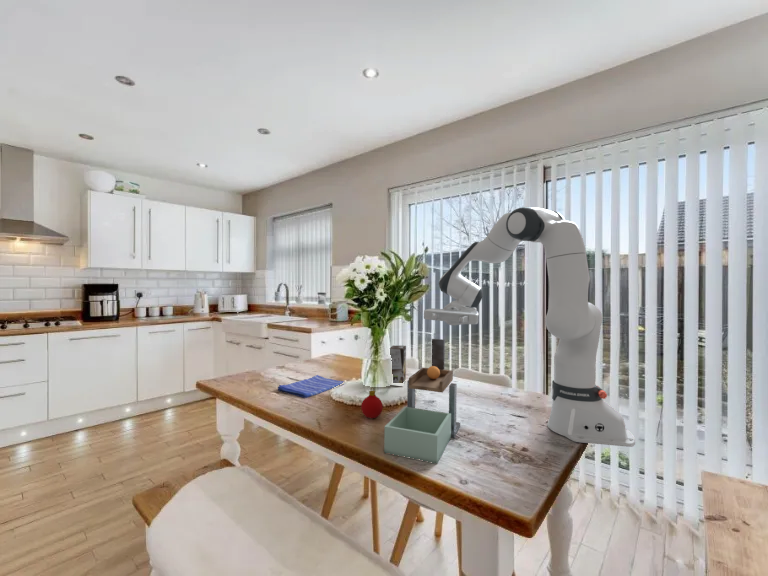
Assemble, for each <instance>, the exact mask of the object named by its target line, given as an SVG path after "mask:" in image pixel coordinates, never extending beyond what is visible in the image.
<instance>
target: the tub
mask: <svg viewBox="0 0 768 576" xmlns="http://www.w3.org/2000/svg"><path fill="white" fill-rule="evenodd" d="M383 435H384V442H383V443H384V445H383V446H384V450H383V451H384V452H385V453H384V454H386V453H390V454H389V455H391V454H394V455H393V456H396V455H399V456H398V457H400V456H405V457H410V458H414V459H413V460H415V459H420V460H423V461H422V462H424V461H428V462H427V463H429V462H432V463H431V464H434V463H437V464H438V463H439V461H440V459H441V457H442V456H443V453H444V452H445V450H446V449H447V446H448V445H449V442H450V440H451V439H452V438H451V413H449V412H443V411H437V410H436V411H435V410H431V409H430V410H429V409H423V408H418V407H415V408H411V407H407V406H404V407H403V408H401V410H400V411H399V412H398V413H397V414H395V416H394V417H393V418H391V420H390V421H388V422H387V423H386V424H385V425H384V434H383ZM405 457H404V458H405ZM410 458H409V459H410Z"/></svg>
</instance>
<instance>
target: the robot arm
mask: <svg viewBox="0 0 768 576" xmlns="http://www.w3.org/2000/svg"><path fill="white" fill-rule="evenodd" d="M520 242H531V243H541V244H542V246H543V247H544V253H545V260H546V268H547V269H546V270H547V275H548V283H549V285H548V286H549V287H548V289H549V290H548V291H549V292H548V304H547V305H548V306H547V308H548V309H547V313H546V315H545V320H544V321H545V322H544V323H545V327H546V329H547V330H548V332H549V333H550V334H551V335H552V336H553V337H555V338H557V339H559V340H558V344H557V347H556V350H555V352H554V356H553V357H554V358H553V362H554V363H553V380H552V383H551V398H552V403H551V404H552V405H551V409H550V415H549V418H548V420H547V421H548V422H547V428H548V429H549V430H551V431H552V432H554V433H556V434H559V435H561V436H563V437H565V438H567V439H569V440H570V441H572V442H575V443H584V444H594V445H595V444H597V445H607V446H617V447H629V448H633V447H635V446H636V437H635V436H634V434H633V433H632V432H631V431H630V430H629V429H628V428H626V424H625V423H626V422H625V420H624V418H623V416H622V414H621V413H620V412H619V410H617V409H615V408H614V407H613V406H612V405H610V404H609V403H608V402H607V401H606V398H608V393H606V391H605V390H603V389H602V388H601V387H600V386H599V385H596V363H597V362H596V361H597V359H596V358H597V354H598V353H597V352H598V348H599V342H600V337H601V336H600V335H601V328H602V327H601V326H602V324H603V314H602V311H601V310H600V308H598V307H597V306H596V305H594V303H591V302H590V301H589V286H590V281H591V277H590V271H589V263H588V257H587V252H586V245H585V241H584V238H583V235H582V233H581V229H580V228H579V226H578V225H577V224H576V222H574V221H572V220H571V221H570V220H566V218H565V217H564V216H563V215H562V214H561V213H560V212H557V211H555V210H549V209H545V208H541V207H529V206H522V207H517V208H516V209H513V210H512V211H511V212H506V213H504V214H503V215H501V217H500V218H499V219H498V220H497V221H496V223H495V224H494V225H493V226H492V228H491V229H490V230H489V233H488V234H487V235H486V237H485V238H484V239H482V240H480V241H474V242H473V243H471V244H470V245H469V247H468V248H467V249H466V250H465V251H463V253H462V254H461V255H460V256H459V258H457V260H456V261H455V263H454V264H452V265H451V267H450V268H449V269H448V270H447V271H446V272H445V273H443V275H442V276H440V279H439V280H438V287H439V290H440V291H441V292H442V293H444V294H445V295H449V296H450V297H451V298H453V299H454V300H453V301H451V302H450V303H447V304H446V305H445V306H444V307H443V308H426V309H424V310H423V319H424V320H426V321H427V320H428V321H438V322H439V321H440V322H445V324H447V325H450V326H461V325H478V324H479V315H480V314H479V311H478V309H477V307H479V304H480V303H481V301H482V299H483V297H484V293H483V291H484V290H483V289H482V287H480V286H479V285H477V283H474V282H473V281H472V280H469V279H468V278H466V277H464V275H462V274H461V272H462V271H463V269H465V267H466V266H467V265H468V263H470V262H472V261H473V262H474V261H478V262H483V263H488V264H500V263H504V262H505V261H507V260H508V259H509V258H510V257H511V256H512V255H513V253H514V252H515V250H516V248H518V246H519V244H520Z"/></svg>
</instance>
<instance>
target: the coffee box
mask: <svg viewBox="0 0 768 576" xmlns="http://www.w3.org/2000/svg"><path fill="white" fill-rule="evenodd" d="M389 349H390V355H391V358H392V360H391V361H392V374H393V383H403V382H404V381H405V380H406V379H407V346H406V345H391V346H390V348H389ZM405 382H406V381H405Z"/></svg>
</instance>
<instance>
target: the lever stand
mask: <svg viewBox="0 0 768 576" xmlns="http://www.w3.org/2000/svg"><path fill="white" fill-rule="evenodd" d="M406 385H407V387H406V388H407V389H406V390H407V393H406V394H407V398H406V407H411V408H416V389H411V388H409V379H408V380H407V384H406ZM457 386H458V385H457V383H453V382H451V383H450V384H449V385H448V413H451V439H455V438H456V436H457V434H458V432H459V430H460V428H461V422H460V421H459V422H457V389H458V388H457Z"/></svg>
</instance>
